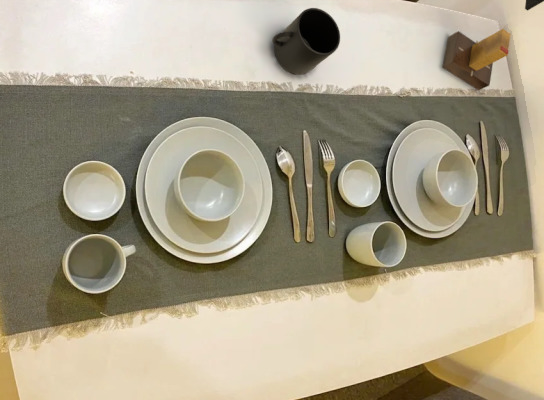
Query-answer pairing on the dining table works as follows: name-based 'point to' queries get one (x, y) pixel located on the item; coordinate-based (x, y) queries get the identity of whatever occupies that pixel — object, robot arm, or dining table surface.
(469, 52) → the plate
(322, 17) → the mug
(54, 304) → the dining table surface
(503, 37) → the lock knob
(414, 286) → the dining table surface
